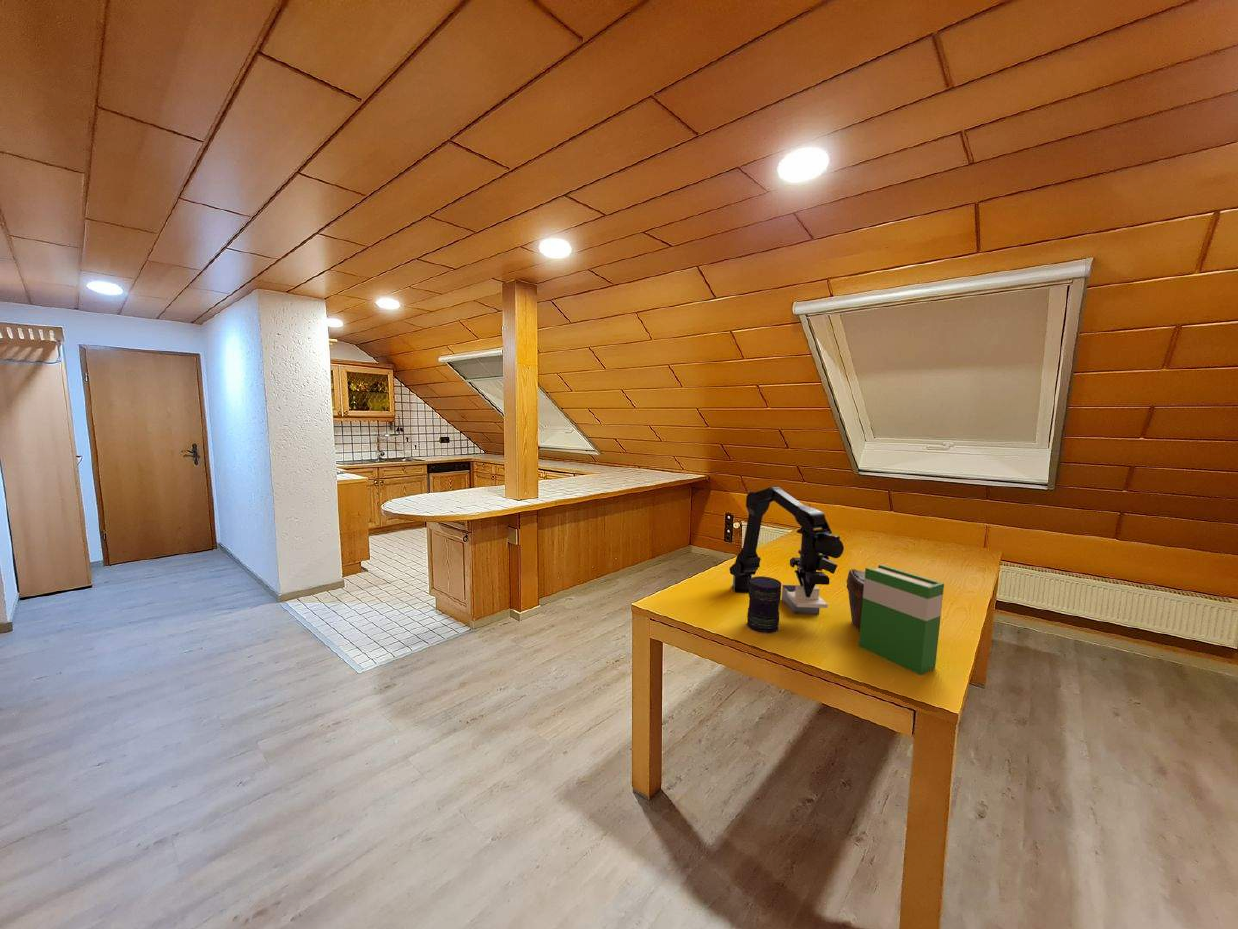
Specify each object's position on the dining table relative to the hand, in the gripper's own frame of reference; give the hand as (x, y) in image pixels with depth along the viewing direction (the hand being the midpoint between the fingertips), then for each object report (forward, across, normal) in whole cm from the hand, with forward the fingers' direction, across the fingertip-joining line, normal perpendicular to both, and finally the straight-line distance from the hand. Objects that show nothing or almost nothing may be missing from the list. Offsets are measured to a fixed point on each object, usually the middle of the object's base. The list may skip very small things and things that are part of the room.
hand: (806, 595), depth 158 cm
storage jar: (+9, -4, +15) cm, 18 cm away
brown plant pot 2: (+9, -2, -22) cm, 24 cm away
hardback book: (+9, -21, -18) cm, 29 cm away
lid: (+2, 0, 0) cm, 2 cm away
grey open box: (+9, +13, -3) cm, 16 cm away
